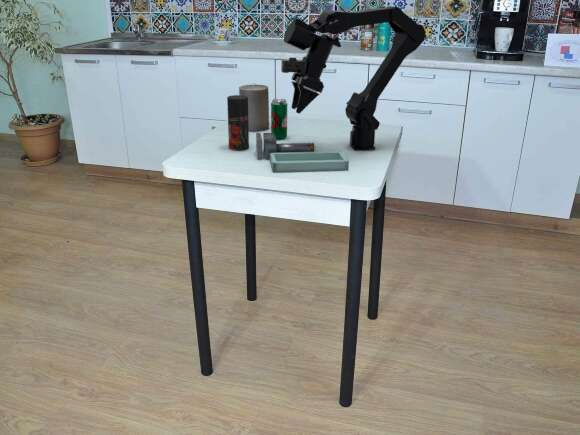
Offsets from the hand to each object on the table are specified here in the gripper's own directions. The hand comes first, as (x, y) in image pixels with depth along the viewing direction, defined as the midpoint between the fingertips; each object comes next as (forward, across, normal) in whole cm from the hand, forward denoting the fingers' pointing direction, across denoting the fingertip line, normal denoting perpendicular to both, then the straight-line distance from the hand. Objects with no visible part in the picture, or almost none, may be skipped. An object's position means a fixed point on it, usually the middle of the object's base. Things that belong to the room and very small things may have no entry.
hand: (295, 110), depth 154 cm
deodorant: (+17, -8, -10) cm, 21 cm away
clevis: (+15, 0, -3) cm, 15 cm away
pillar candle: (+13, -31, -5) cm, 34 cm away
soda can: (+11, -18, +2) cm, 21 cm away
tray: (+12, +10, +7) cm, 17 cm away
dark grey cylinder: (+12, 0, +3) cm, 13 cm away
